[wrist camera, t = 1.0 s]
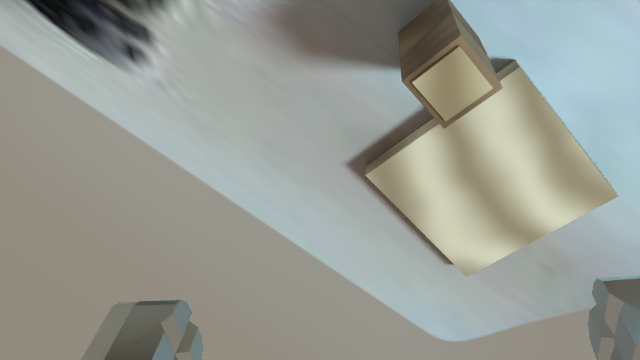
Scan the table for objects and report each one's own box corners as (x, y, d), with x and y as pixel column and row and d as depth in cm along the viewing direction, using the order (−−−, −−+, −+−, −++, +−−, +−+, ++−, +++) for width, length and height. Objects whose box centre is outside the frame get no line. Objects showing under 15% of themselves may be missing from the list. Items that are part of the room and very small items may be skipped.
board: (515, 59, 37) (519, 67, 36) (611, 185, 42) (618, 196, 41) (366, 165, 43) (365, 175, 42) (464, 265, 48) (466, 276, 47)
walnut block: (444, -7, 35) (461, 36, 28) (479, 37, 37) (503, 89, 29) (398, 32, 37) (401, 82, 30) (432, 72, 39) (444, 130, 31)
